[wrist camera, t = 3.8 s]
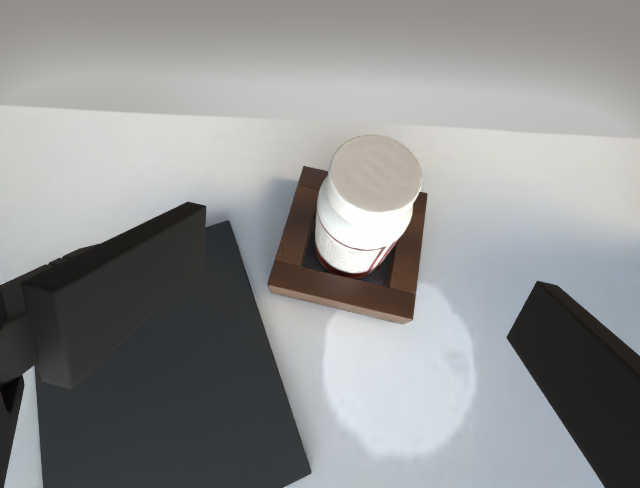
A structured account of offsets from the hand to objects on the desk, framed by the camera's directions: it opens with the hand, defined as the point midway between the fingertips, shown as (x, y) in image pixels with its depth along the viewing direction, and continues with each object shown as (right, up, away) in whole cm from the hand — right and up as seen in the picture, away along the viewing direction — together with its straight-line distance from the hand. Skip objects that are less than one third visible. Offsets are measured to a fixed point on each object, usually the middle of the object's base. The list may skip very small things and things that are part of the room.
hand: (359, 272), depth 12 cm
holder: (+1, +1, +15) cm, 15 cm away
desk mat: (-13, -8, +10) cm, 19 cm away
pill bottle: (+1, +1, +15) cm, 15 cm away
